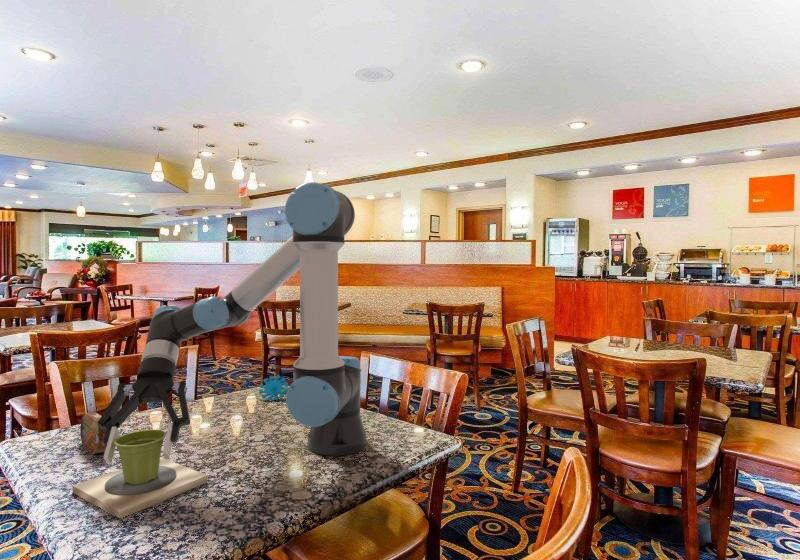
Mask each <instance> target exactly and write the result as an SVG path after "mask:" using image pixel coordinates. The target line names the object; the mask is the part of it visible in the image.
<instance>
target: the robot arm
mask: <svg viewBox="0 0 800 560" xmlns="http://www.w3.org/2000/svg"><path fill="white" fill-rule="evenodd" d="M288 195H289V196H288V197H287V199H286V203H285V207H284V215H285V219H286V222H287V223H288V225H289V227H290V228H291V229H292V236H291V237H289V239H287V240H286V241H285V242H284V243H283V244H282V245H281V246H279V247H278V249H276V250H274V252H273V253H272V254H270V255H269V256H268V258H267V257H266V258H267V259H265V260H264V261H262V263H261V264H259V265H258V266H257V267H256V268H255V269H254V270H252V272H251V273H250V274H249V275H248V276H246V277H245V278H244V279H243V280H242V281H241V282H240V283H239V284H237V285H236V286H235V287H234V288H233V289H232V290H231V291H230V292H229V293H227V294H226V295H225V296H224V297H222V298H220V297H218V296H210V297H207V298H202V299H200V300H199V301H195V302H194V303H192V304H189V305H187V306H185V307H182V308H181V307H179V306H176V305H173V304H169V305H162V306H159V307H157V309H155V311H154V313H153V316H152V317H151V321H150V323H149V328H148V332H147V336H146V341H145V345H144V348H143V353H142V355H141V360H140V361H141V362H140V363H139V367H138V369H137V370H138V371H137V375H136V378H135V379H136V380H135V381H134V382H133V383H132V384H125V383H123V382H121V383H119V384H118V385H117V390H116V393H115V395H114V396H113V398H112V399H111V401H110V402H109V404H108V405H107V407H106V408H105V410H104V412H103V413H102V415H101V418H100V419H99V421H98V424H99V426H100V427H101V429H102V430H106V432H105V436H104V440H103V443H104V445H105V446H107V447H106V450H105V452H104V454H103V459H104V461H105V462H106V464H112V462H113V458H114V455H115V451H116V449H117V446H116V445H115V444H114V440H115V439H117V438H118V437H120V431H119V428H120V426H122V424H123V423H124V422H125V421H126V420H127V419H128V418H129V417H130V416H131V415H132V414H133V412H134V411H135V410H136V409H137V408H139V407H141V405H143V404H148V403H154V404H155V403H160V402H162V405H163V407H164V409H165V410H166V413H167V414H168V416H169V418H170V421H171V422H172V423H168V426H167V430H166V436H165V439H164V440H165V441H164V445H163V451H162V455H163V458H164V459H167V460H170V459H171V452H172V446H173V443H177V442H178V440H179V436H180V430H181V428H182V427H183V426H189V425H190V424H191V419H190V418H191V417H190V413H189V408H188V402H187V397H186V396H187V395H186V394H187V392H188V391H187V390H188V387H187V383H186V381H184V380H181V381H180V382H174V380H175V374H176V370H177V369H176V368H177V364H178V359H179V354H180V349H181V344H182V342H183V341H186V340H189V339H192V338H194V337H196V336H199V335H202V334H204V333H208V332H212V331H216V330H221V329H225V328H229V327H237V326H240V325H242V324H244V323H246V322H247V321H248V320H249V318H250V315H251V312H252V311H253V310H255V309H256V308H257V307H258V306H259V305H261V304H262V303H263V302H264V301H265V300H267V298H269V296H271V295H272V294H273V293H274V292H275V291H277V289H279V288H280V287H281V286H282V285H283V284H284V283H285V282H287V281H288V280H289V279H290V278H291V277H292V276H294V275H295V274H296V273H297V272H298V271H299V332H300V333H299V357H298V358H297V359H296V360H295V361H294V363H293V367H292V368H293V374H292V375H293V377H292V378H293V380H292V382H291V384H290V385H288V386H289V387H287V389H288V390H287V393H286V395H285V404H286V407H287V410H288V413H289V414H290V415H291V417H292V418H294V419H295V420H296V422H298V423H299V424H301V425H303V426H306V427H308V428H309V427H310V430H309V432H308V436H307V449H308V450H309V451H311V452H313V453H315V454H317V455H322V456H329V457H330V456H332V457H336V456H339V457H340V456H345V455H346V456H347V455H351V454H356V453H358V452H360V451H362V450H364V449H366V447H367V433H366V431H365V428H364V424H363V421H362V418H361V382H362V381H361V379H362V378H361V377H362V376H361V375H362V374H361V373H362V368H361V365H362V364H361V361H360V359H359V357H356V356H355V357H354V356H346V355H339V251H340V250H341V248H343V247H344V245H345V236H346V235H347V234H348V233H349V231H350V230H351V229H352V227H353V225H354V223H355V218H356V214H355V212H356V211H355V208H354V205H353V203H352V201H351V200H350V198H349V197H347V195H346V194H344V193H343V192H340V191H338V190H335V189H334V188H333V187H331V186H329V185H328V184H325V183H319V182H313V181H311V182H310V181H309V182H305V183H303V184H301V185H299V186H297V187H295V188H294V189H293V190H292V191H291V192H290V194H288ZM174 390H175V393H177V394H178V400H179V406H180V411H181V417H179V416H178V415H177V413H176V411H175V409H174V407H173V405H172V403H171V402H170V399H169V398H168V397H169V396H168V395H169V394H170V393H171V392H172V391H174ZM132 391H133V394H132V395H131V396H130V399H128V401H127V402H126V403H125V404H124V405H123V403H124V401H125V399H126V397H127V396H129V395H130V394H131V392H132ZM122 405H123V406H122ZM121 406H122V407H121Z"/></svg>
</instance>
